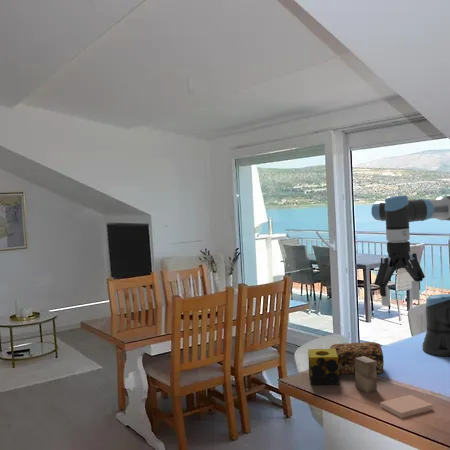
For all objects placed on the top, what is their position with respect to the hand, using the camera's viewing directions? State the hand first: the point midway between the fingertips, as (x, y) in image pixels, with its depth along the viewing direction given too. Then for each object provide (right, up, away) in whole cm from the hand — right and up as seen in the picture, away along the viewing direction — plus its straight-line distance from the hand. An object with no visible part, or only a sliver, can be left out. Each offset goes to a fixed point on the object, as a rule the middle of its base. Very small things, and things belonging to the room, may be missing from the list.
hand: (401, 302), depth 174 cm
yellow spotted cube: (-25, -29, +6) cm, 39 cm away
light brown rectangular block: (-13, -28, -4) cm, 31 cm away
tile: (-7, -28, -16) cm, 34 cm away
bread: (-11, -28, +15) cm, 34 cm away
